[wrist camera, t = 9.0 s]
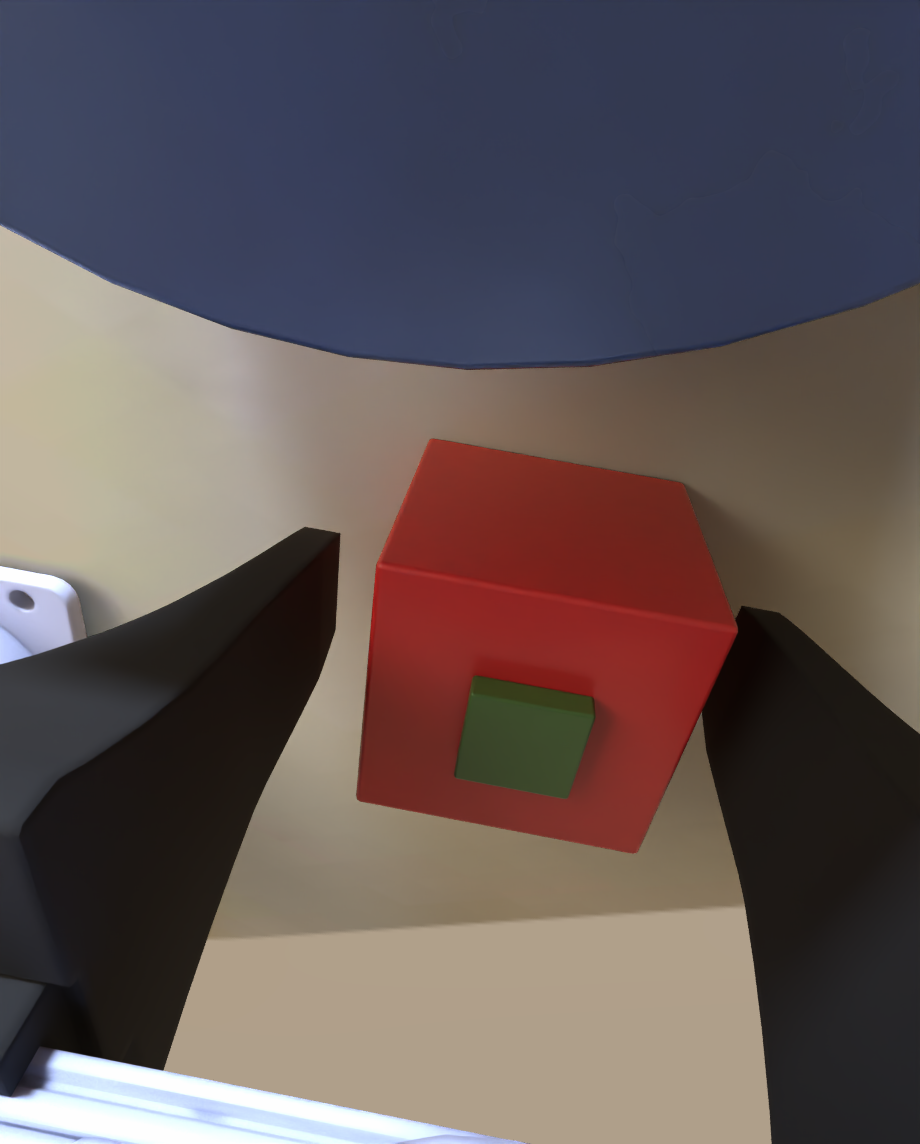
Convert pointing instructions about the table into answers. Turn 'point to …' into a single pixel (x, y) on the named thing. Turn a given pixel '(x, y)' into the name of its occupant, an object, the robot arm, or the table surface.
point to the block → (538, 646)
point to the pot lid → (472, 167)
